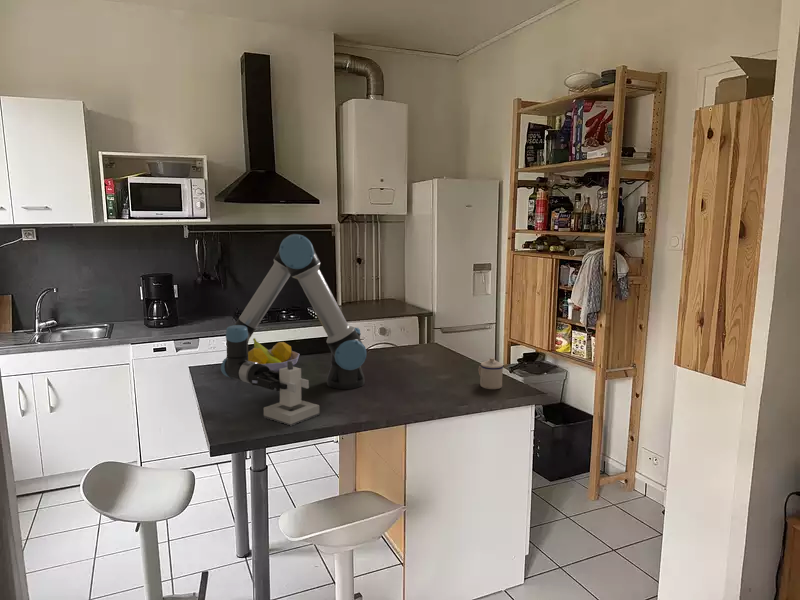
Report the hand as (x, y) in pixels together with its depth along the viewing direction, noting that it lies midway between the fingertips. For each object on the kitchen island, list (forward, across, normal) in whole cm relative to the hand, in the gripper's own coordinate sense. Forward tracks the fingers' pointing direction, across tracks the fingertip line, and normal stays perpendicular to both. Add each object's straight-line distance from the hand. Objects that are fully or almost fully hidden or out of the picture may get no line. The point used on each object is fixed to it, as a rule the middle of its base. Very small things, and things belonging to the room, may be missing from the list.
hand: (301, 386), depth 180 cm
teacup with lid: (+31, -73, -11) cm, 80 cm away
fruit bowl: (-58, -35, -12) cm, 69 cm away
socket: (-7, 0, -12) cm, 14 cm away
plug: (-5, 0, -7) cm, 9 cm away
